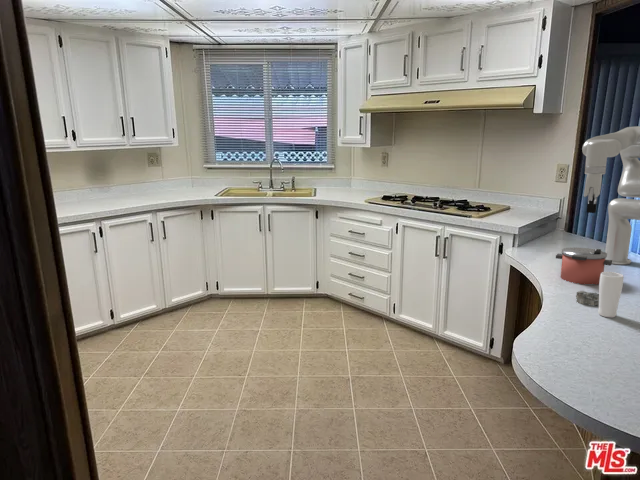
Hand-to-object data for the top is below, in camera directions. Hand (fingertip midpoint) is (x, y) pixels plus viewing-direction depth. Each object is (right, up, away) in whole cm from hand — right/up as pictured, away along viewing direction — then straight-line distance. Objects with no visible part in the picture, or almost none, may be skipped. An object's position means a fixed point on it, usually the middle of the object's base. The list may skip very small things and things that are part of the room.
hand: (591, 212), depth 190 cm
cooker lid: (-5, -19, -2) cm, 19 cm away
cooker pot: (-3, -29, +2) cm, 30 cm away
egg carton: (-16, -36, -25) cm, 47 cm away
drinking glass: (-18, -39, -37) cm, 57 cm away
